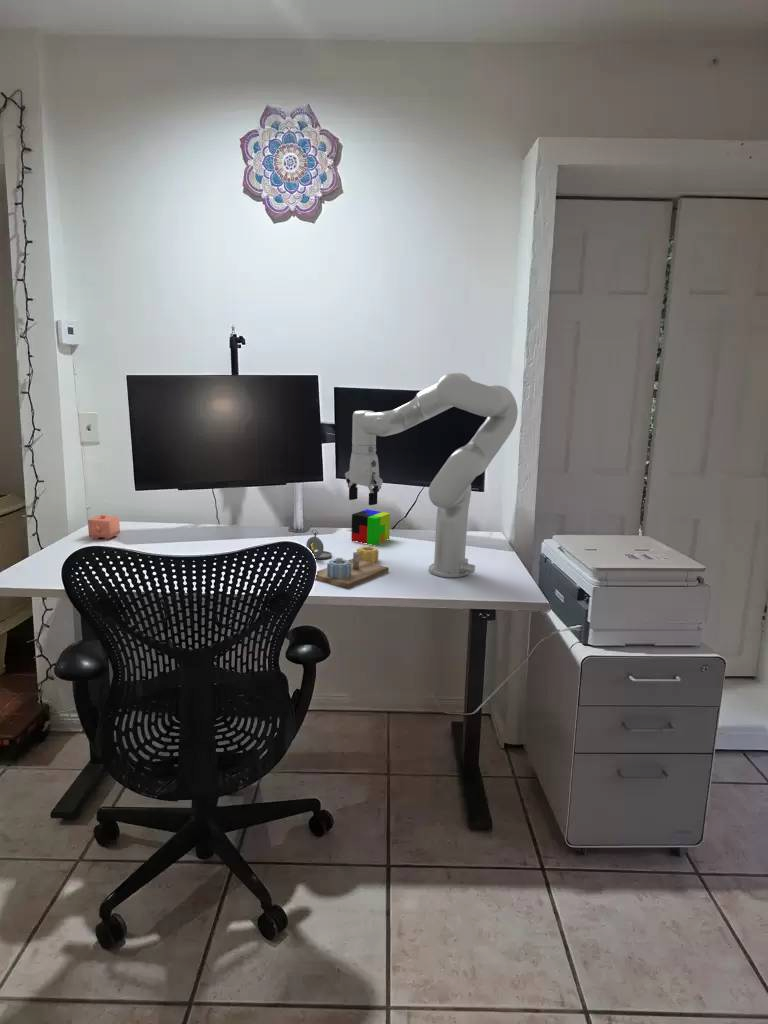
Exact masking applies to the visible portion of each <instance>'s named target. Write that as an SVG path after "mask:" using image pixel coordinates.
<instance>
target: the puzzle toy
mask: <svg viewBox="0 0 768 1024" xmlns="http://www.w3.org/2000/svg"><path fill="white" fill-rule="evenodd" d="M390 530H391V513H390V512H385V511H378V510H373V509H367V508H366V509H364V510H360V511H358V512H355V513H353V514H351V535H350V537H351V539H350V540H352V541H351V542H353V541H358V542H362V543H361V544H363V543H367V544H366V545H368V544H372V545H371V546H373V545H376V544H378V545H380V544H379V543H381V542H383V541H385V540H387V539H389V540H390V534H391V533H390ZM358 542H357V543H358ZM385 542H386V541H385ZM383 543H384V542H383ZM381 544H382V543H381ZM376 546H377V545H376Z"/></svg>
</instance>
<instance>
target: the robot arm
mask: <svg viewBox="0 0 768 1024" xmlns="http://www.w3.org/2000/svg"><path fill="white" fill-rule="evenodd" d="M453 407H455V408H457V409H460V410H463V411H466V412H468V413H470V414H471V413H472V414H474V415H477V416H480V417H483V418H484V417H485V418H486V419H485V420H484V421H483V423H482V424H481V425H480V426H479V428H478V429H477V431H476V432H475V434H474V436H473V437H472V438H471V439H470V440H469V442H467V444H465V445H464V446H460V447H459V448H457V449H455V450H454V451H453V452H452V454H451V455H450V456H449V457H448V458H447V460H446V462H444V464H443V465H442V467H441V468H440V470H439V471H438V472H437V474H436V475H435V476H434V478H433V480H432V481H431V483H430V485H429V487H428V498H429V501H430V502H431V504H432V505H434V506H435V507H437V511H436V519H435V521H436V522H435V540H434V555H433V556H434V558H433V560H434V561H433V563H431V564H430V565H429V566H428V571H429V573H430V574H432V575H435V576H438V577H443V578H453V579H454V578H463V577H465V576H467V575H469V573H471V574H474V573H475V570H476V565H475V564H470V562H469V559H468V558H466V548H467V547H466V546H467V534H468V533H467V532H468V519H469V518H468V517H469V507H470V502H471V498H472V497H471V496H472V483H473V481H474V480H475V479H476V477H478V476H480V475H481V474H483V473H484V472H485V471H486V470H487V469H488V467H489V465H490V464H491V462H492V461H493V459H494V458H495V456H496V455H497V454H498V452H499V451H500V449H501V448H502V446H503V445H504V444H505V443H506V441H507V440H508V438H509V437H510V435H511V433H513V430H514V428H515V426H516V424H517V420H518V413H519V412H518V409H519V408H518V405H517V401H516V398H515V396H514V395H513V393H512V392H511V391H510V390H509V388H507V387H505V386H503V385H498V384H497V385H495V384H494V385H487V384H483V383H480V382H477V381H474V380H472V379H471V377H469V376H468V375H467V374H465V373H461V372H453V373H448V374H445V375H443V376H441V378H440V379H439V380H438V382H436V383H434V384H432V385H430V386H428V387H426V388H423V389H422V390H419V392H416V395H415V396H414V398H413V399H412V400H409V402H408V401H407V403H405V404H402V405H401V406H398V407H397V408H394V409H391V410H384V411H378V412H375V411H374V410H364V409H362V410H355V411H353V414H352V429H351V430H352V433H351V435H352V437H351V442H352V443H351V444H352V446H351V449H352V450H351V455H350V459H349V469H348V471H346V472H345V473H344V476H345V479H346V483H347V488H348V490H349V491H348V500H349V501H354V500H358V488H359V486H358V485H360V486H364V487H367V489H368V490H369V492H368V505H369V506H374V505H375V506H376V505H377V504H378V493H379V492H380V490H381V488H382V485H383V482H384V480H383V479H382V478H381V477H380V468H379V465H380V464H379V457H378V455H377V453H376V452H377V443H376V442H377V437H378V436H379V437H387V436H392V435H396V434H399V433H402V432H404V431H406V430H408V429H410V428H412V427H414V426H417V425H418V424H420V423H423V422H424V421H427V420H429V419H431V418H433V417H435V416H437V415H439V414H441V413H443V412H445V411H448V410H449V409H451V408H453ZM357 486H358V487H357Z"/></svg>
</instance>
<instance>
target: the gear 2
mask: <svg viewBox="0 0 768 1024" xmlns="http://www.w3.org/2000/svg"><path fill="white" fill-rule="evenodd" d="M356 552H359V560H361V561H365V562H369V563H374V564H375V563H378V562H379V548H377V547H376V546H372V545H369V546H365V545H364V546H360V547H358V548H357V549H356Z"/></svg>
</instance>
